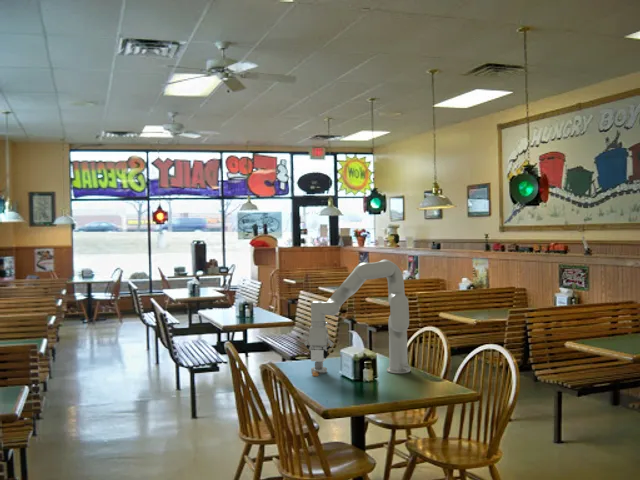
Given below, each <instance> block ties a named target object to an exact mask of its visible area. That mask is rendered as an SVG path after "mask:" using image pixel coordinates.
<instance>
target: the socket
mask: <svg viewBox="0 0 640 480" xmlns="http://www.w3.org/2000/svg"><path fill="white" fill-rule="evenodd" d="M324 351H325V349H324V347H323V346H313V348H312V349H311V356H310V362H316V361H320V362H323V363H324V362H325V361H326V360H327V358H326V359H325V358H324Z"/></svg>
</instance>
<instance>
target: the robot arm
mask: <svg viewBox="0 0 640 480" xmlns="http://www.w3.org/2000/svg"><path fill="white" fill-rule="evenodd" d="M383 278H384V279H385V278H386V280H387V291H388V300H387V302H388V305H389V306H390V307H389V309H390V313H389V317H388V350H389V351H388V353H389V354H388V357H389V359H388V360H389V362H388V363H389V364H388V365H389V366H388V367H386V372H387V373H390V374H409V373H410V372H411V369H412V366H409V363H408V328H409V326H410V310H409V309H410V308H409V300H408V297H407V296H406V294H405V293H406V292H405V280H404V275H403V273H402V271H401V269H400V267H399V266H398V265H397V264H396V262H395V263H394V262H393V261H392V260H389V259H381V260H380V261H376V262H363V261H362V262H360V263H359V264H357V265H356V266H355V268H354V269H353V270H352V272H350V274H349V275H348V276H347V277H346V279H344V281H343V282H342V283H341V284H340V286H339V287H338V288H337V289H336V290H335V291H334V293H332V295H331V296H330V297H329V299H327V300H326V301H324V300H313V301H311V303H310V321H311V322H310V325H311V326H310V327H309V331H308V338H307V339H306V340H305V341H304V342H303V344H304V346H305V347H306V348H307V349H308V350H309V357H311V349H312V348H313V346H323V347H324V349H325V351H324V358H325V359H326V360H327V358H328V356H329V350H330V348H332V346H333V345H334V342H333V341H332V340H331V339H330V338H329V331H328V327H327V326H328V325H329V322H327V320H326V316H336V315H338V314H339V312H340V308H341V307H342V305H343V304H344V303H345V302H346V301H347V300H348V299H349V298H350V297H351V296H353V295H355V293H357V292H358V290H359V289H360V288H361V287H362V285H364V283H366V281H367V280H375V279H383Z"/></svg>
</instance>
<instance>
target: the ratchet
mask: <svg viewBox="0 0 640 480" xmlns="http://www.w3.org/2000/svg"><path fill="white" fill-rule="evenodd" d="M310 369H311V370H310V372H311V374H312V377H319V376H320V375H323V374H324V375H325V374H327V373H328V368H327V367H326V366H324V362H320V361H314V366H313V367H310Z"/></svg>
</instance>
